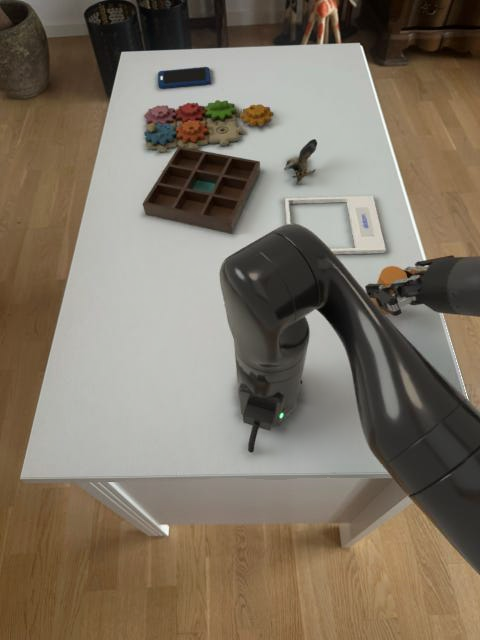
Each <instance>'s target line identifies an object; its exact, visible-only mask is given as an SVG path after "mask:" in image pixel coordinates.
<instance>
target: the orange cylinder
mask: <svg viewBox="0 0 480 640" xmlns="http://www.w3.org/2000/svg"><path fill="white" fill-rule="evenodd" d="M405 278H407V274H406V273H405V271H404V269H403V268H401V267H399V266H395V265H390V266H386V267H384V268H382V270H381V271H380V274H379V276H378V280H377V282H376V284H391V283H393V282H394V281H395V280H398V279H405ZM401 287H402V286H401ZM389 292H390V294H391V295H393V294H394V293H393V291H392V290H389ZM371 299H372V300H373V301H374V303H375V304H376V305H377V306H378V304H377V301H376V299H375V298H371ZM378 307H379V306H378ZM379 309H380V308H379ZM380 310H381V311H382V312H383V313H384V314H385V316H388V315H390V314H389V313H388V312H386V311H384V310H382V309H380Z"/></svg>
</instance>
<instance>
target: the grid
mask: <svg viewBox="0 0 480 640" xmlns="http://www.w3.org/2000/svg"><path fill="white" fill-rule="evenodd" d="M260 174H261V161H259V160H253V159H250V158H243V157H237V156H232V155H228V154H221V153H216V152H211V151H205V150H200V149H190V148H188V147H179V146H177V147H176V150H175V151H174V153H173V155H172V156H171V158H170V159H169V161H168V162H167V164H166V165H165V167H164V169H163V171H161V174H160V175H159V177H158V178H157V180H156V182H154V184H153V186H152V187H151V188H150V189H151V190H150V191H149V193H148V194H147V196H146V197H145V199H144V201H143V202H142V207H143V211H144V214H145V215H146V216H150V217H155V218H158V219H163V220H168V221H171V222H178V223H182V224H186V225H191V226H195V227H200V228H204V229H209V230H212V231H213V230H214V231H218V232H221V233H227V234H231V235H232V234H233V233H234V231H235V229H236V226H237V224H238V221H239V220H240V218H241V215H242V213H243V211H244V209H245V206H246V204H247V202H248V200H249V197H250V196H251V193H252V191H253V189H254V187H255V185H256V182H257V180H258V178H259V176H260Z"/></svg>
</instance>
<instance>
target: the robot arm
mask: <svg viewBox="0 0 480 640" xmlns="http://www.w3.org/2000/svg"><path fill="white" fill-rule="evenodd" d="M330 249H331V247H329V246H328V245H327V244H326V243H325V242H324V241H323V240H322V239H321V238H320V237H319V236H318V235H317V234H315V232H313V231H312V230H310V229H309V228H307V227H305V226H304V225H301V224H299V223H291V224H287V223H286V224H283V225H281V226H279V227H277V228H275V229H273V230H272V231H269V232H268V233H266V234H265V235H262V237H259V238H257V239H255V240H254V241H252V242H251V243H249V244H247V245H245V246H244V247H242V248H240V249H239V250H237V251H235V252H234V253H232V254H230V255H228V256H227V257H226V258H224V260H223V261H222V263H221V264H220V268H219V284H220V290H221V294H222V295H221V296H222V299H223V302H224V308H225V314H226V320H227V324H228V327H229V330H230V333H231V336H232V339H233V346H234V358H235V359H234V360H235V368H236V369H235V370H236V379H237V396H238V402H239V410H240V415H241V416H242V421H243V424H246V425H250V426H251V427H252V428H251V431H250V435H249V439H248V445H247V451H248V452H249V453H251V454H252V453H254V451H255V444H256V439H257V436H258V431H259V428H260V429H263V430H265V431H269V432H271V429H272V426H275V427H280V426H281V424H282V421H283V420H284V419H286V418H288V417H289V416H290V415H291V414H293V412H294V411H295V409H296V408H297V405H298V402H299V399H300V389H301V387H302V385H303V380H302V378H303V373H304V369H305V368H304V367H305V362H306V359H307V353H308V347H309V343H310V337H311V336H310V334H311V331H310V324H309V321H308V319H307V318H306V316H308V315H310V314H311V313H312V312H314V311H315V310H316V311H317V312H318V313H319V314H320V315H322V317H323V318H324V319H325V320H326V321H327V323H328V324H329V326H330V327H331V328H332V329H333V331H334V332H335V334H336V335H337V337H338V339H339V341H340V342H341V344H342V346H343V348H344V351H345V354H346V356H347V360H348V362H349V368H350V372H351V377H352V384H353V389H354V396H355V400H356V401H355V402H356V408H357V413H358V418H359V422H360V426H361V430H362V433H363V436H364V440H365V442H366V444H367V447H368V448H369V450H370V452H371V453H372V455H373V456H374V457H375V459H376V460H377V461H378V462H379V464H380V465H382V467H383V468H384V469H385V470H386V472H387V473H388V474H389V475H390V477H392V479H393V481H395V482H396V484H397V485H399V487H400V488H401V489H402V491H403V492H404V493H405V494H406V495H407V496H408V498H409V499H410V500H411V501H412V502H413V504H414V505H415V506H416V507H417V508H418V509H419V510H420V511H421V512H422V514H424V515H425V517H426V518H427V519H428V520H429V521H430V522H431V523H432V525H433V526H434V527H435V528H436V529H437V530H438V531H439V532H440V534H441V535H442V536H443V537H444V538H445V539H446V541H447V542H448V543H449V544H450V545H451V546H452V547H453V548H454V549H455V550H456V552H457V553H458V554H459V555H460V556H461V557H462V558H463V560H465V562H466V563H467V564H468V565H469V566H470V567H471V568H472V569H473V570H474V571H475V573H476V574H478V575H479V576H480V410H479V409H478V408H477V406H475V405H474V404H473V402H471V401H470V400H469V399H468V397H466V396H465V395H464V394H463V393H462V392H461V391H460V390H459V389H458V388H457V387H456V385H454V384H453V383H452V382H450V381H449V380H448V379H447V378H446V377H445V376H444V375H443V374H442V373H441V372H440V371H439V370H438V369H437V368H436V367H435V366H434V365H433V364H432V363H431V362H430V361H429V360H428V359H427V358H426V357H425V356H424V355H423V354H422V353H421V352H420V351H419V350H418V348H416V347H415V346H414V344H413V343H412V342H411V341H410V340H409V339H408V338H407V337H406V336H405V335H404V334H403V333H402V332H401V331H400V330H399V329H398V328H397V326H395V325H394V323H393V322H392V321H391V320H390V319H389V318H388V317H387V315H385V314H384V313H383V312H382V311H381V310H380V309H382V310H384V311H386V312H388V313H389V314H388V315H391V316H393V317H397V316H400V315H402V313H403V312H402V308H404V307H406V306H408V305H409V306H420V305H424V306H426V307H428V308H429V309H430V310H432V311H434V312H435V313H438V314H447V315H457V316H468V317H475V318H476V317H478V318H480V255H479V256H477V255H476V256H455V255H452V254H451V255H446V256H441V257H436V258H430V259H425V260H419V261H417V262H415V263H414V266H407V267H405V268H404V269H403V270H404V271H405V273H406V274H407V278H405V279H398V280H395V281H394V282H393V283H391V284H377V283H368V284H367V285H365V286H364V288H365V289H364V288H363V286H361V284H360V283H359V282H358V281H357V280H356V278H355V277H354V276H353V274H352V273H351V272H350V271H349V270H348V268H347V267H346V266H345V265H344V264H343V262H342V261H341V260H340V259H339V258H338V257H337V254H334V253H333V252H332V251H331V250H330ZM401 286H402V287H401ZM389 290H392V291H393V293H394V294H393V295H391V294H390V292H389ZM371 298H375V299H376V301H377V304H378V306H379V307H378V306H377V305H376V304H375V303H374V301H373V300H372V299H371ZM379 308H380V309H379Z"/></svg>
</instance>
